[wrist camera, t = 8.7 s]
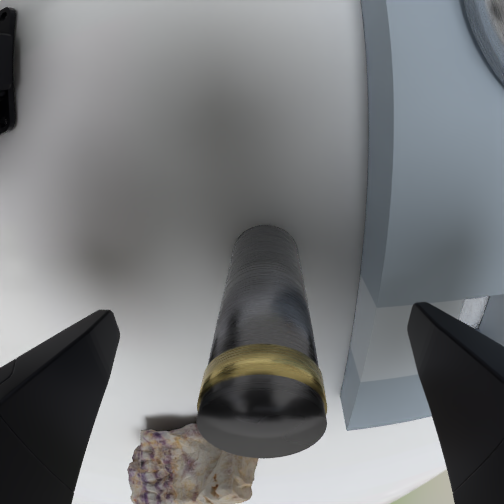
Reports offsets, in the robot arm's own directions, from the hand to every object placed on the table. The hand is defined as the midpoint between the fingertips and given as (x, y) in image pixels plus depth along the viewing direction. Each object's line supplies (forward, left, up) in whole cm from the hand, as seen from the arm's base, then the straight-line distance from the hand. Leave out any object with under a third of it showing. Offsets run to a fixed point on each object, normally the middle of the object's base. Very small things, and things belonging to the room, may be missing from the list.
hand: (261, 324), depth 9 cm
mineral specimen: (-5, -15, -5) cm, 17 cm away
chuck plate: (+10, +4, -4) cm, 12 cm away
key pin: (0, 0, -4) cm, 5 cm away
